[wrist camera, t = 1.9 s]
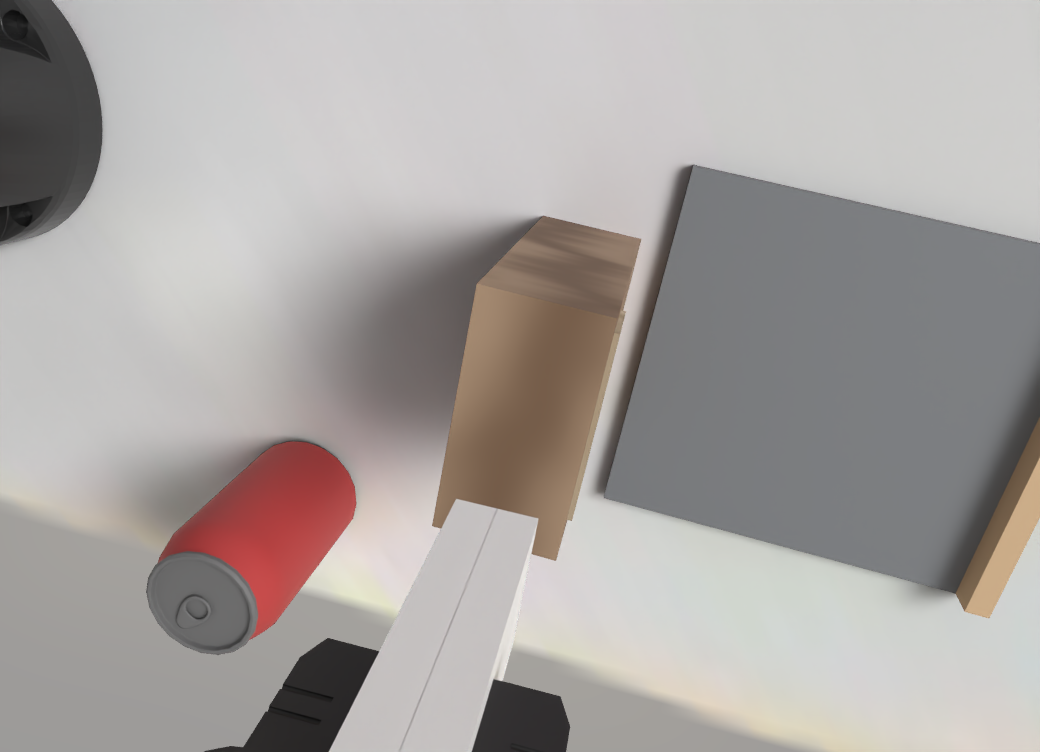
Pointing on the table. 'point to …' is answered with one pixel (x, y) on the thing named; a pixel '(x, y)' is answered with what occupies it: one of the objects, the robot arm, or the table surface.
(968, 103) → the table surface
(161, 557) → the beer can
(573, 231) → the walnut block
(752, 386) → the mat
